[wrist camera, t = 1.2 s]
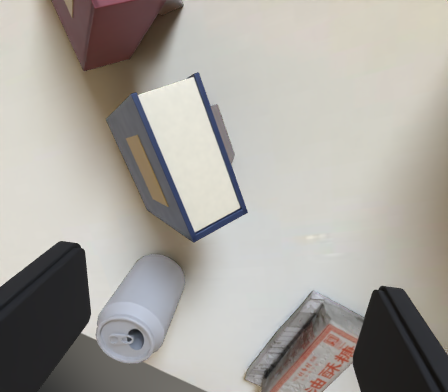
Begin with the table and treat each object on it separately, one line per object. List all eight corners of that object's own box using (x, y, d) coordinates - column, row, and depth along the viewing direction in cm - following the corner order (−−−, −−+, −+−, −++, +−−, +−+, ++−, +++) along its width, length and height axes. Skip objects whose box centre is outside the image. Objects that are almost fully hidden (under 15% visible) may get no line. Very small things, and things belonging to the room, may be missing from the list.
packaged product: (318, 312, 35) (390, 350, 36) (311, 286, 40) (375, 321, 41) (242, 400, 42) (304, 431, 43) (244, 370, 46) (300, 398, 47)
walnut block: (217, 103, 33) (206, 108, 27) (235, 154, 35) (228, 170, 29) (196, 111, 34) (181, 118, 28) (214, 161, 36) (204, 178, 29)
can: (184, 300, 43) (157, 376, 32) (134, 291, 44) (89, 362, 33) (189, 255, 41) (161, 320, 29) (134, 246, 41) (87, 307, 30)
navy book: (198, 72, 21) (129, 94, 19) (248, 212, 24) (192, 243, 22) (148, 104, 34) (104, 119, 32) (184, 192, 37) (146, 210, 36)
